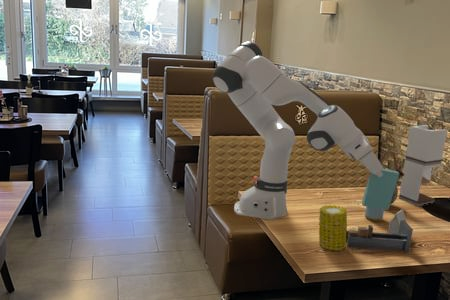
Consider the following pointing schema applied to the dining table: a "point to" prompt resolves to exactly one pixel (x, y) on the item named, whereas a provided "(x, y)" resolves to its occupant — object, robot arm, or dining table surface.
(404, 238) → the rack
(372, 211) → the bottle
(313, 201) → the dining table surface
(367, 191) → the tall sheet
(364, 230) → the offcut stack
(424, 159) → the white model tower
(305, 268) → the dining table surface
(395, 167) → the ceramic vessel
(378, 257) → the dining table surface
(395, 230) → the tea bag
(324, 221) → the food
